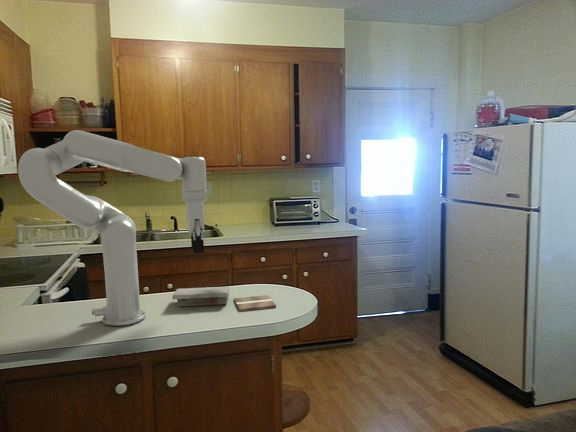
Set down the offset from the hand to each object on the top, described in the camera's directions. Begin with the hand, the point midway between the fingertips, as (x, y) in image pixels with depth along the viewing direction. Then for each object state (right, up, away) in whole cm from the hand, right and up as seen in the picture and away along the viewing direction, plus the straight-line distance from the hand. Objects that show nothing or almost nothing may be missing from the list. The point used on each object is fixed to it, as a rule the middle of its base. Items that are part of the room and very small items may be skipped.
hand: (197, 249), depth 142 cm
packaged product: (0, -17, +3) cm, 17 cm away
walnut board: (+18, -19, +7) cm, 27 cm away
